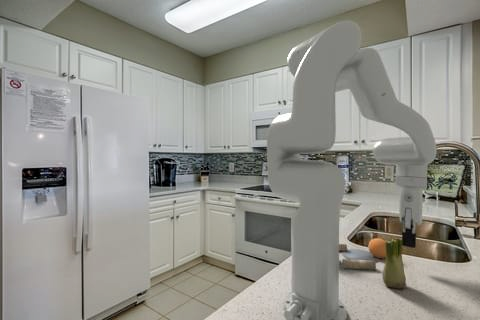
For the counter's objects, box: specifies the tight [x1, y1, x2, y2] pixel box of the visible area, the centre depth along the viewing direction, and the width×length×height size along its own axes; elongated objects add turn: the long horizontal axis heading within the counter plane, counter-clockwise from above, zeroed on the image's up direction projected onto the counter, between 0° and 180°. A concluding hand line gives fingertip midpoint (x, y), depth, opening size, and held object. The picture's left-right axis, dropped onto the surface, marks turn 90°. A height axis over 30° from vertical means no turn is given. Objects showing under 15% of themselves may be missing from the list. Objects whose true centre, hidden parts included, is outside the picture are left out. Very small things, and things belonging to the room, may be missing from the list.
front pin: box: [342, 258, 377, 271], centre depth 72 cm, size 2×2×8 cm
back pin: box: [339, 243, 348, 252], centre depth 86 cm, size 2×2×8 cm
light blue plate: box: [341, 248, 381, 263], centre depth 81 cm, size 11×11×1 cm
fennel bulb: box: [381, 237, 407, 290], centre depth 62 cm, size 6×5×12 cm
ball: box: [367, 237, 387, 259], centre depth 80 cm, size 6×6×6 cm
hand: (408, 246), depth 72 cm, fingers closed
